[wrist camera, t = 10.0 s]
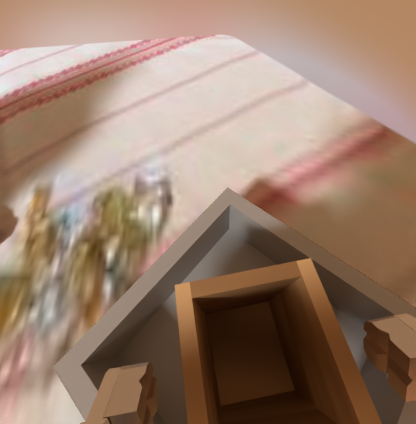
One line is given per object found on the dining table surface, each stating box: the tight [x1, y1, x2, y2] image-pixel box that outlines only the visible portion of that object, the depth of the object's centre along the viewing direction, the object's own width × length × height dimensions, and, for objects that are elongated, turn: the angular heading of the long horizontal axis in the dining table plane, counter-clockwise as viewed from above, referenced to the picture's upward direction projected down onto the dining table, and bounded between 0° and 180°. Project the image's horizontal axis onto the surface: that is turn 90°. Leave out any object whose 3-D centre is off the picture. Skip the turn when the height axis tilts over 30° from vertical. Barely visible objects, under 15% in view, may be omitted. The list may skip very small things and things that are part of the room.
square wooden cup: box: [175, 258, 382, 424], centre depth 10 cm, size 6×6×8 cm
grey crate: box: [53, 188, 416, 424], centre depth 13 cm, size 14×14×5 cm
